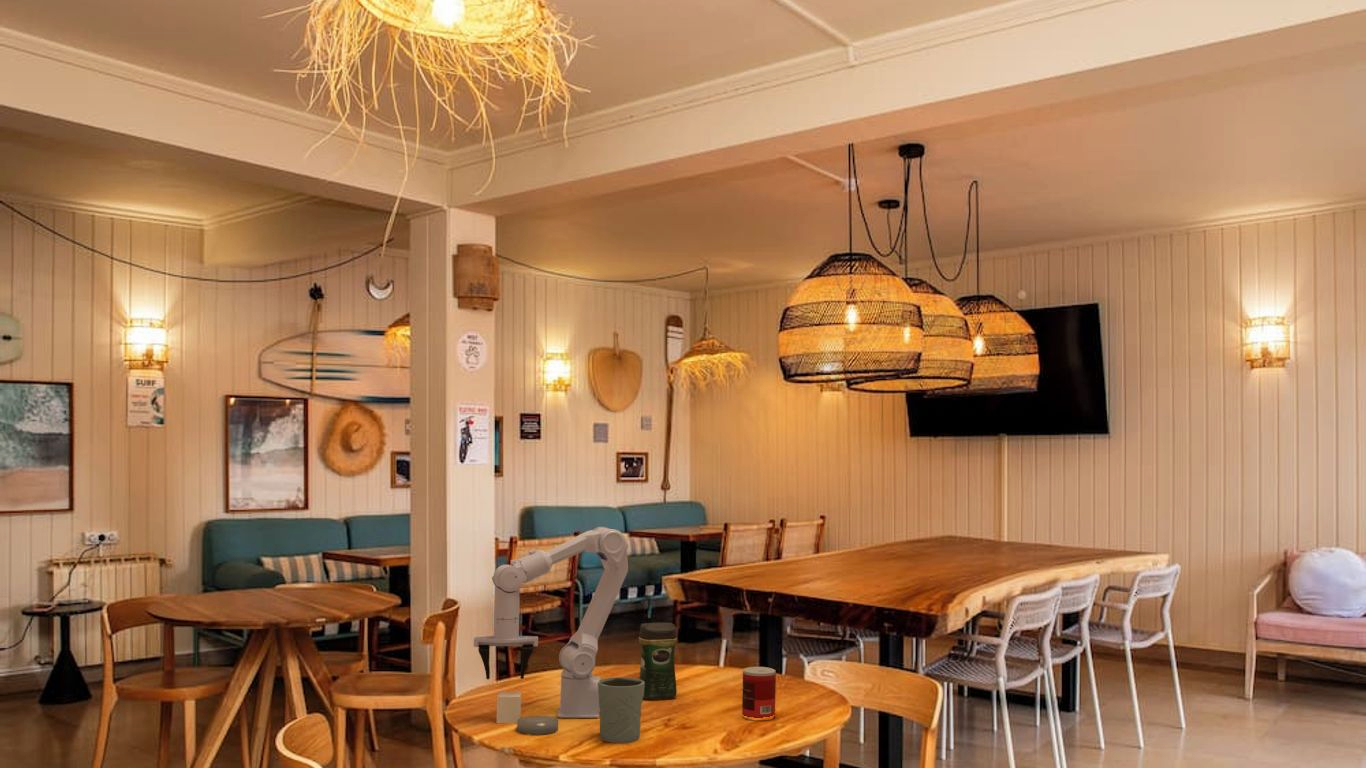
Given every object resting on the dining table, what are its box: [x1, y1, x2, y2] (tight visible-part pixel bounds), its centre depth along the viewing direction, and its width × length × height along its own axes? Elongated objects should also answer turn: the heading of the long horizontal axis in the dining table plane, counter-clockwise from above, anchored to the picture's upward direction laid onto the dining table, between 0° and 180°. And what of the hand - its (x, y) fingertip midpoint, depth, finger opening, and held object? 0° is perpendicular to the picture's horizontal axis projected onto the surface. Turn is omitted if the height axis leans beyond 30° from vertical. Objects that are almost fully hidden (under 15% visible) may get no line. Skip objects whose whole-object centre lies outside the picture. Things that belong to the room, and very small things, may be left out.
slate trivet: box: [516, 715, 559, 736], centre depth 235 cm, size 9×9×2 cm
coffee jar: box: [638, 622, 678, 700], centre depth 269 cm, size 10×8×19 cm
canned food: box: [741, 666, 777, 718], centre depth 251 cm, size 8×8×11 cm
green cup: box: [598, 676, 644, 744], centre depth 230 cm, size 10×10×12 cm
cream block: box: [496, 691, 522, 724], centre depth 242 cm, size 5×5×6 cm
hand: (505, 678), depth 243 cm, fingers open, 7 cm apart
